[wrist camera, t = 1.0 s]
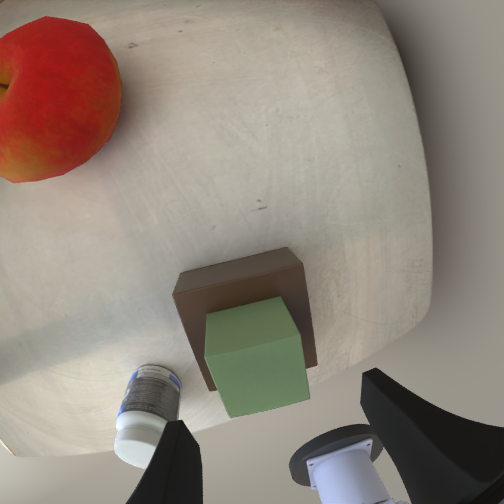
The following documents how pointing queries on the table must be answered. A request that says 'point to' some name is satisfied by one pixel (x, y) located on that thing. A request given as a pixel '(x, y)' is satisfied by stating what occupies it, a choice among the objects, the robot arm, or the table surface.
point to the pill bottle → (146, 413)
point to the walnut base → (243, 297)
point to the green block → (256, 357)
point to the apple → (55, 98)
